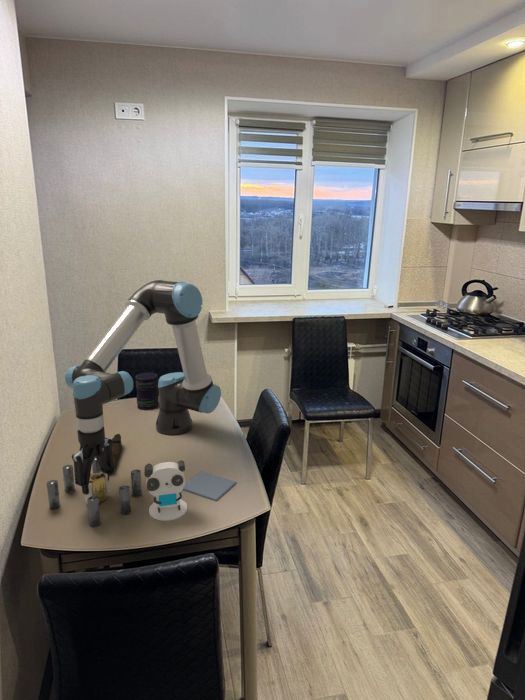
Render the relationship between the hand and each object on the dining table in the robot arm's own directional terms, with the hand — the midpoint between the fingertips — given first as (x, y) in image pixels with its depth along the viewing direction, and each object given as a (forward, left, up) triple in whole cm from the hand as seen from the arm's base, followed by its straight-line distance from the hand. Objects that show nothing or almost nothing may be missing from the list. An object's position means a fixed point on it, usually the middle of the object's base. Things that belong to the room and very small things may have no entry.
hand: (97, 496), depth 146 cm
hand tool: (-21, -16, -2) cm, 27 cm away
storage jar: (-66, -38, -1) cm, 76 cm away
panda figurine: (-7, +22, -1) cm, 23 cm away
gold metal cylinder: (0, 0, 0) cm, 0 cm away
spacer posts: (0, 0, -1) cm, 1 cm away
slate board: (-24, +25, -1) cm, 34 cm away
